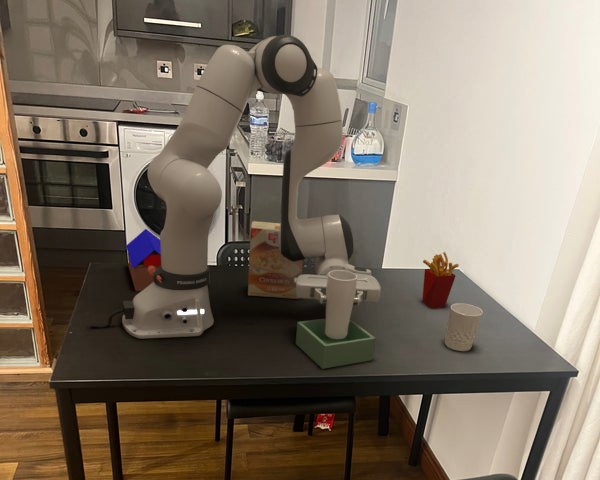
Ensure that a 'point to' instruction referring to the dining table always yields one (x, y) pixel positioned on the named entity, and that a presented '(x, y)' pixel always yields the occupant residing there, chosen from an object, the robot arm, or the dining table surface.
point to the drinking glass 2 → (339, 302)
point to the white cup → (462, 326)
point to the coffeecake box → (270, 264)
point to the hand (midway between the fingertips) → (340, 301)
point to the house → (143, 258)
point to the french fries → (437, 281)
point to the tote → (334, 344)
